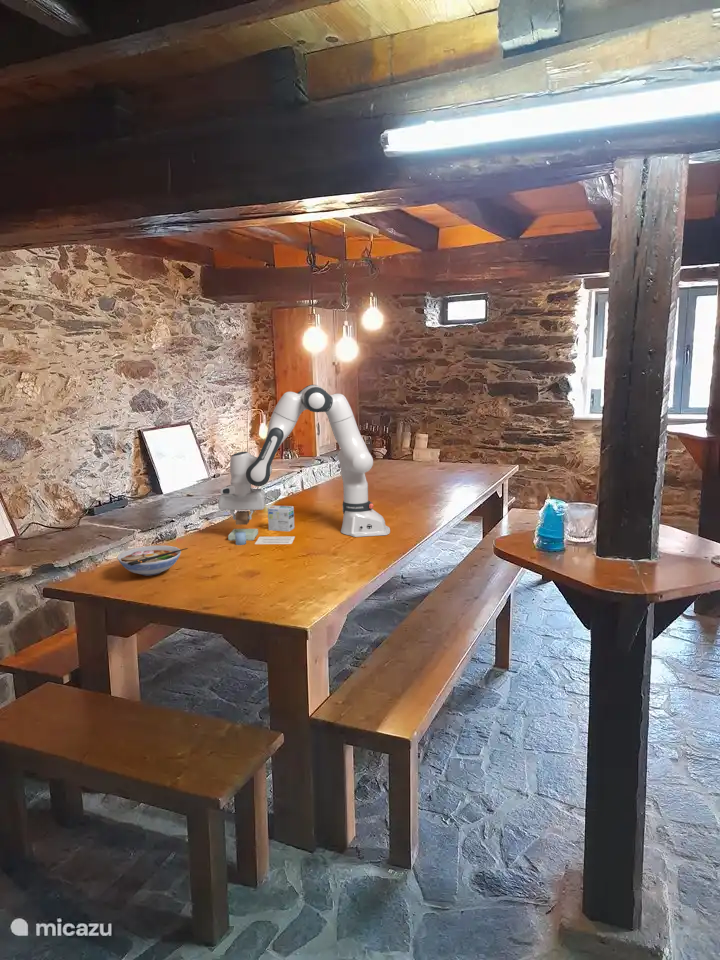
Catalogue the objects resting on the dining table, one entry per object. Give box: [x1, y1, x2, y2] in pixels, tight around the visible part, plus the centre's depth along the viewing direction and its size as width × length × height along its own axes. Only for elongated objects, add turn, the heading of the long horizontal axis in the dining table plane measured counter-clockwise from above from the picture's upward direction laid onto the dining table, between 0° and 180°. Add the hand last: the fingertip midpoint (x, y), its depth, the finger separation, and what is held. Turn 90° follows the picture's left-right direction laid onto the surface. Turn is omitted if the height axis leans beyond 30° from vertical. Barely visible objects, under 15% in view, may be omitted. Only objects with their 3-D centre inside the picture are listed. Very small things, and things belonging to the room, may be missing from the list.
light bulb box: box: [267, 504, 296, 532], centre depth 306 cm, size 11×7×11 cm, turn 74°
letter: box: [254, 535, 296, 545], centre depth 288 cm, size 16×12×1 cm
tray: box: [228, 528, 259, 542], centre depth 294 cm, size 11×11×2 cm
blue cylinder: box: [235, 531, 247, 546], centre depth 283 cm, size 4×4×5 cm
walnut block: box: [234, 510, 250, 526], centre depth 292 cm, size 5×5×5 cm
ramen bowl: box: [117, 544, 189, 577], centre depth 246 cm, size 25×23×8 cm
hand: (242, 519), depth 292 cm, fingers closed on walnut block, 5 cm apart
